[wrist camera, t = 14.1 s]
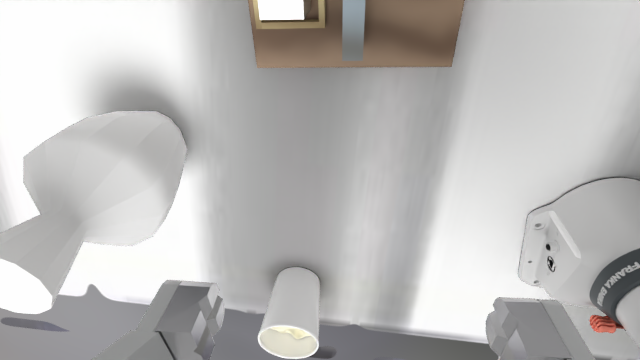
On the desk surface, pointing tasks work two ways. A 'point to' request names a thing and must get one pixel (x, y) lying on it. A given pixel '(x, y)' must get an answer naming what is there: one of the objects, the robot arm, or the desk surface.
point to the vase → (89, 199)
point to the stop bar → (283, 9)
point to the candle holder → (292, 315)
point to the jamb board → (380, 36)
